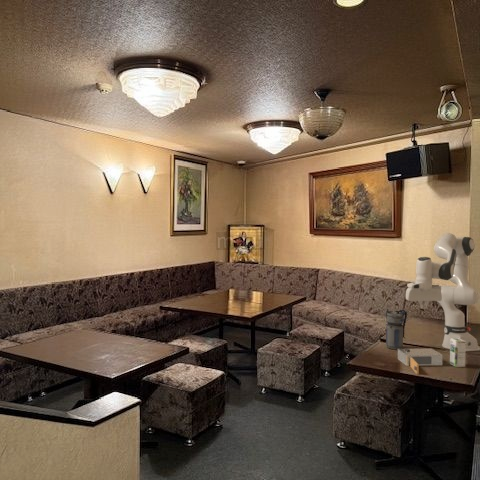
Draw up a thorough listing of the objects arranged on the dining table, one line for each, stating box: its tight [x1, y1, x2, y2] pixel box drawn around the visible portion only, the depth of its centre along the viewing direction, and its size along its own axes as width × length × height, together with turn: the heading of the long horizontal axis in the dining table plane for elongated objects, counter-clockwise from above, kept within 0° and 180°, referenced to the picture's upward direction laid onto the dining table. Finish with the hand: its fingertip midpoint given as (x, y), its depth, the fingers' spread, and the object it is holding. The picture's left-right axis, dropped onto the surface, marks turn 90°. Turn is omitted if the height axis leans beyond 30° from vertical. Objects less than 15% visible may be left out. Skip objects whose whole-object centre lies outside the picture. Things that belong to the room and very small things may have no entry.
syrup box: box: [449, 338, 466, 368], centre depth 225 cm, size 6×6×14 cm
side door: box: [409, 356, 420, 375], centre depth 218 cm, size 13×2×5 cm, turn 172°
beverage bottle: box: [384, 308, 408, 351], centre depth 258 cm, size 10×13×25 cm
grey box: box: [397, 347, 443, 367], centre depth 231 cm, size 20×14×7 cm
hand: (423, 308), depth 238 cm, fingers closed
